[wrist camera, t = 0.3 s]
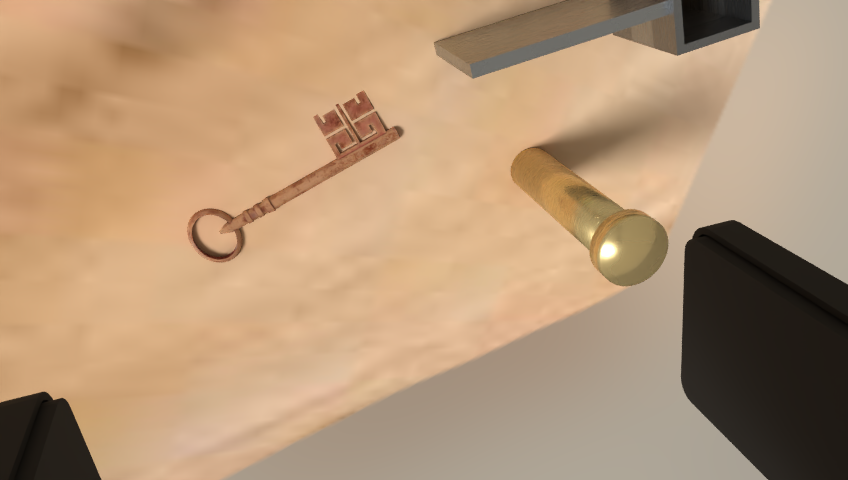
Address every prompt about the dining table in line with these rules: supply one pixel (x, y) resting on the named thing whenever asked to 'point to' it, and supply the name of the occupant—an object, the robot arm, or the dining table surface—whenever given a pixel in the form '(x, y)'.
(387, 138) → the key
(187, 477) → the dining table surface
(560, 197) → the hinge pin
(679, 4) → the bracket
